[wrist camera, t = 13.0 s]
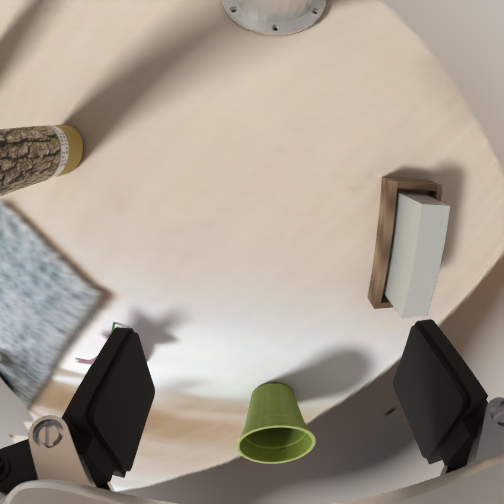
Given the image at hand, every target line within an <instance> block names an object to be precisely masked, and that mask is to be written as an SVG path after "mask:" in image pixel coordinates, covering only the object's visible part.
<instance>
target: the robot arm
mask: <svg viewBox="0 0 504 504" xmlns="http://www.w3.org/2000/svg"><path fill="white" fill-rule="evenodd" d="M221 1H222V4H223V7H224V9H225V11H226V13H227V14H228V15H229V16H230V17H231V19H232V20H233V21H235V22H236V23H237V24H239V25H240V26H242V27H244V28H246V29H247V30H250V31H253V32H256V33H259V34H264V35H274V36H281V35H290V34H294V33H298V32H300V31H302V30H305V29H307V28H308V27H310V26H311V25H313V24H314V23H315V22H316V21H317V20H318V19H319V18H320V16H321V15H322V13H323V11H324V8H325V6H326V0H221ZM232 11H236V12H232ZM313 12H315V13H316V14H314V13H313ZM273 29H277V31H274V30H273ZM393 387H394V390H395V392H396V394H397V397H398V399H399V401H400V403H401V406H402V408H403V410H404V412H405V415H406V417H407V420H408V422H409V425H410V427H411V429H412V432H413V434H414V437H415V439H416V442H417V444H418V447H419V449H420V452H421V454H422V456H423V457H424V458H427V460H428V463H429V464H432V463H435V462H438V461H441V460H443V462H444V467H443V469H442V472H441V475H440V476H438V477H436V478H433V479H430V480H427V481H424V482H421V483H418V484H415V485H411V486H408V487H405V488H401V489H398V490H394V491H390V492H386V493H382V494H378V495H373V496H369V497H364V498H360V499H354V500H348V501H342V502H337V503H329V504H504V398H501V397H499V398H494V399H492V400H491V401H490V402H489V403H488V402H487V400H486V399H487V397H488V395H487V393H486V392H485V390H484V389H483V387H482V386H481V384H480V383H479V381H478V380H477V379H476V377H475V376H474V374H473V373H472V371H471V370H470V368H469V367H468V366H467V364H466V363H465V362H464V360H463V359H462V357H461V356H460V355H459V353H458V352H457V351H456V349H455V348H454V347H453V345H452V344H451V343H450V341H449V340H448V339H447V337H446V336H445V335H444V334H443V332H442V331H441V330H440V328H439V327H438V326H437V325H436V323H435V322H434V321H433V320H431V319H429V320H422V321H417V322H416V323H415V325H414V326H412V327H411V330H410V333H409V336H408V339H407V343H406V346H405V349H404V352H403V355H402V358H401V361H400V364H399V366H398V370H397V372H396V375H395V377H394V381H393ZM154 395H155V388H154V384H153V381H152V378H151V375H150V372H149V369H148V366H147V362H146V359H145V356H144V352H143V349H142V345H141V342H140V338H139V335H138V334H137V333H134V331H133V329H131V328H120V327H116V328H115V329H114V330H113V332H112V333H111V335H110V337H109V338H108V340H107V341H106V343H105V345H104V346H103V348H102V350H101V351H100V353H99V354H98V356H97V358H96V359H95V361H94V363H93V364H92V365H91V367H90V368H89V370H88V372H87V374H86V375H85V377H84V379H83V380H82V382H81V384H80V386H79V387H78V389H77V391H76V393H75V394H74V396H73V398H72V400H71V402H70V403H69V405H68V407H67V409H66V411H65V413H64V414H63V416H62V418H60V417H57V416H53V415H48V416H43V417H41V418H39V419H37V420H36V421H35V422H34V423H33V424H32V426H31V427H30V430H29V433H28V438H29V439H27V440H24V441H21V442H18V443H16V444H13V445H11V446H7V447H5V448H2V449H0V504H176V503H169V502H163V501H157V500H151V499H146V498H140V497H135V496H130V495H126V494H122V493H118V492H115V491H114V489H113V487H112V485H111V483H110V481H111V478H112V475H115V476H119V477H123V478H124V477H125V474H126V471H130V470H131V468H132V466H133V462H134V459H135V455H136V452H137V449H138V446H139V442H140V439H141V436H142V433H143V430H144V426H145V423H146V420H147V417H148V414H149V411H150V408H151V405H152V402H153V399H154Z"/></svg>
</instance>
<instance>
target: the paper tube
mask: <svg viewBox="0 0 504 504" xmlns="http://www.w3.org/2000/svg"><path fill="white" fill-rule="evenodd" d="M82 154H83V141H82V138H81V135H80V134H79V132H78V131H77V130H76V129H75V128H74V127H72V126H69V125H53V126H52V125H49V126H33V127H21V128H10V129H1V130H0V196H2V195H5V194H8V193H10V192H13V191H16V190H19V189H21V188H24V187H27V186H30V185H33V184H36V183H39V182H42V181H45V180H48V179H51V178H54V177H57V176H60V175H64V174H67V173H69V172H71V171H73V170H74V169H75V168H76V167H77V166H78V164H79V162H80V160H81V158H82Z"/></svg>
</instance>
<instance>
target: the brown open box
mask: <svg viewBox="0 0 504 504" xmlns="http://www.w3.org/2000/svg"><path fill="white" fill-rule="evenodd" d="M397 191H401V192H418V193H423V194H425V195H427V196H430V197H432V198H434V199H436V200H439V201H441V192H442V185H440V184H437V183H434V182H431V181H423V180H412V179H400V178H387V177H382V185H381V199H380V210H379V221H378V230H377V239H376V247H375V254H374V262H373V268H372V275H371V281H370V287H369V293H368V299H369V301H370V302H371V304H372V306H373V307H374V309H378V308H391V307H393V305H392V304H391V303H390V301H389V300H388V298H387V297H386V296H385V294H384V293H383V289H384V284H385V278H386V273H387V267H388V261H389V254H390V247H391V240H392V233H393V225H394V216H395V206H396V196H397Z"/></svg>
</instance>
